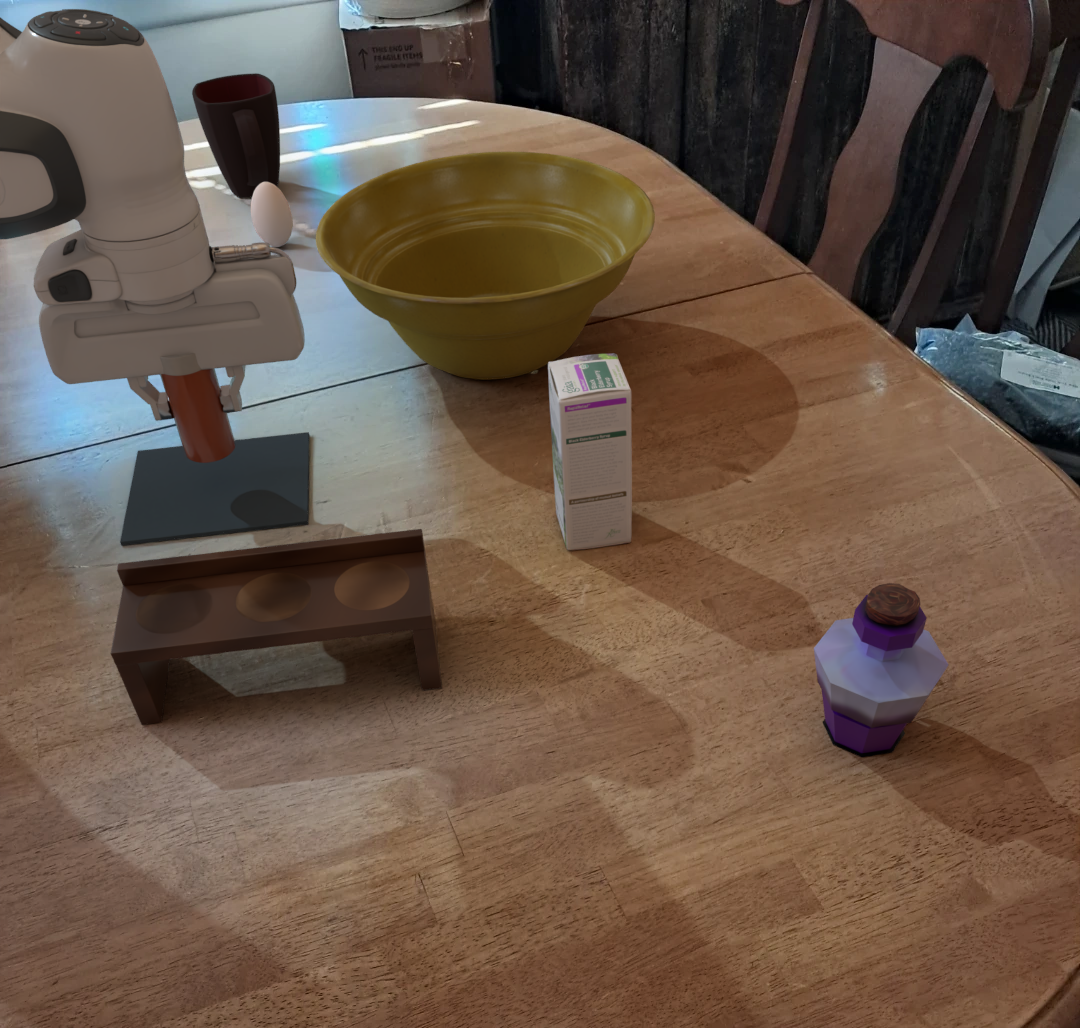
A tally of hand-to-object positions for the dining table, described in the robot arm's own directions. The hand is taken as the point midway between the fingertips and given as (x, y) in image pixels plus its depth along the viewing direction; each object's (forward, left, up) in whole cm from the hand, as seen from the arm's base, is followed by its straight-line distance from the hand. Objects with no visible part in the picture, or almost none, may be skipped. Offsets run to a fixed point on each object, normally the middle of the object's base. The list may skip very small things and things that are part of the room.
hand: (199, 412), depth 98 cm
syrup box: (+32, -12, -8) cm, 35 cm away
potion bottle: (+47, -38, -8) cm, 61 cm away
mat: (0, 0, -8) cm, 8 cm away
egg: (+4, +49, -8) cm, 50 cm away
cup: (+1, +65, -8) cm, 65 cm away
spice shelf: (+7, -25, -8) cm, 27 cm away
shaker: (0, 0, -4) cm, 4 cm away
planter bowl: (+27, +20, -8) cm, 34 cm away
